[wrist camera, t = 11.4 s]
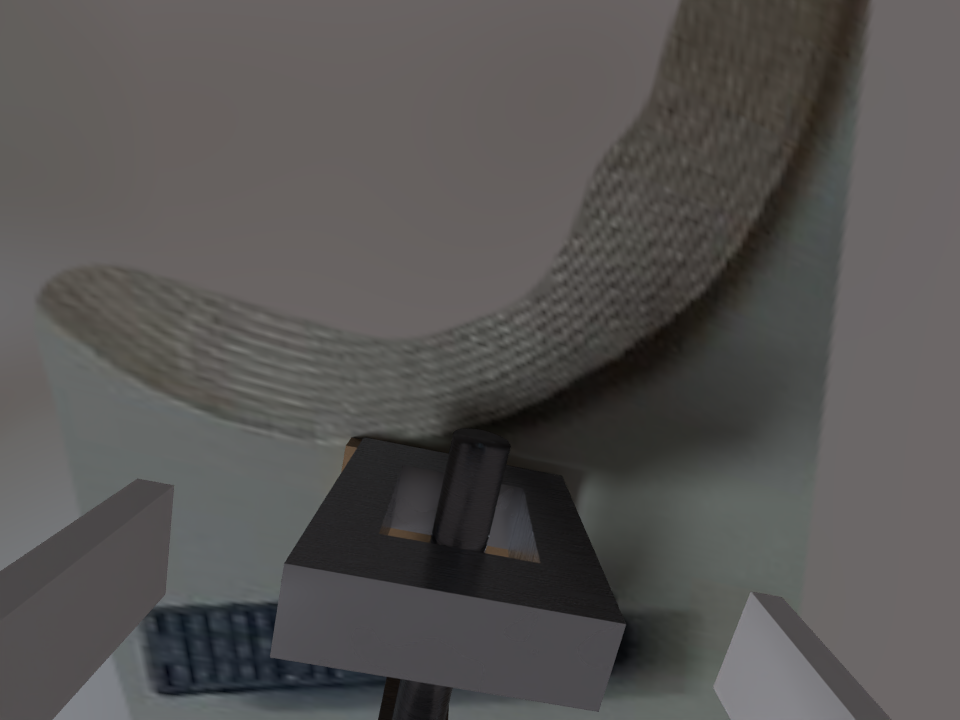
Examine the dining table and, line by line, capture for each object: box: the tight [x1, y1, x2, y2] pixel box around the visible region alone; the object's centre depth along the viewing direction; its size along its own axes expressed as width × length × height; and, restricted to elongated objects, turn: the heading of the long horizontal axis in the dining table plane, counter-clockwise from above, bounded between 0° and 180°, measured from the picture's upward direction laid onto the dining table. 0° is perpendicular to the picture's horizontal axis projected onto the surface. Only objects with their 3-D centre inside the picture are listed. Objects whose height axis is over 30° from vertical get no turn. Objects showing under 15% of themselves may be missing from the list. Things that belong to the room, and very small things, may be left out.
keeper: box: [341, 429, 511, 720], centre depth 17 cm, size 14×10×10 cm
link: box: [270, 437, 626, 712], centre depth 15 cm, size 2×8×8 cm, turn 78°
